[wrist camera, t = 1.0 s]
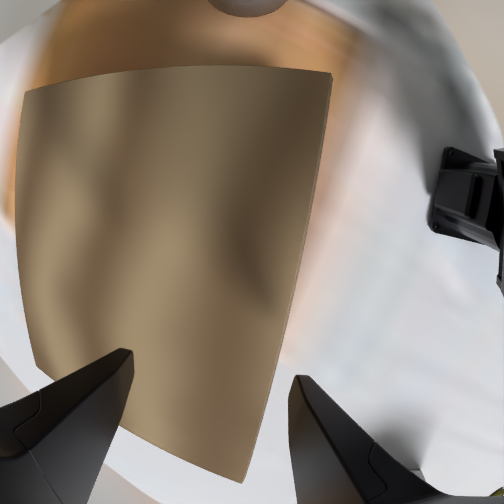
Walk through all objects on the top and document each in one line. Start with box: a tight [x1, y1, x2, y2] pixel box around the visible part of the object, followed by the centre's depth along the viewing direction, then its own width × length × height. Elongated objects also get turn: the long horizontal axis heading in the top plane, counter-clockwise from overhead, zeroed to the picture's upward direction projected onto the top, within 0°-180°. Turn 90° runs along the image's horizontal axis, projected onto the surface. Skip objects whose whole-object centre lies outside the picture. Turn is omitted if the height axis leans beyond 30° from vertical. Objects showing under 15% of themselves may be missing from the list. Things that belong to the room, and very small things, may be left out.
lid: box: [15, 65, 333, 484], centre depth 13 cm, size 16×18×1 cm
